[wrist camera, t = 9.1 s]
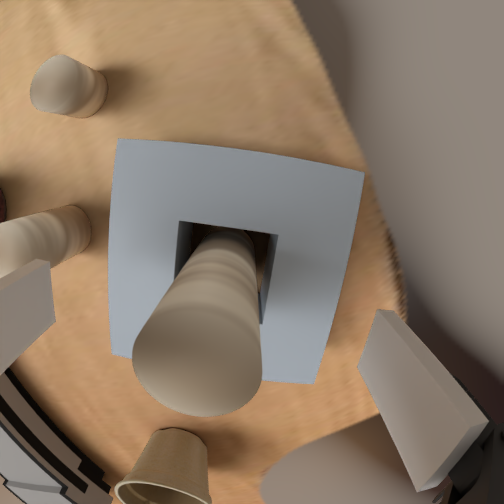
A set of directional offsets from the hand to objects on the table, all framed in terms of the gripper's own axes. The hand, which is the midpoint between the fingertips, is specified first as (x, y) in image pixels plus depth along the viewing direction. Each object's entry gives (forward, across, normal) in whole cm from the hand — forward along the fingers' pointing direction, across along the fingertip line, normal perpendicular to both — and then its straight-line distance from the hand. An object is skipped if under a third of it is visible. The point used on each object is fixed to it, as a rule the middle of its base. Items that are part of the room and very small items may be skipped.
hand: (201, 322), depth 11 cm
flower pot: (+11, -3, -22) cm, 25 cm away
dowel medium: (+12, -13, 0) cm, 17 cm away
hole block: (+11, 0, 0) cm, 12 cm away
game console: (+12, -29, -29) cm, 43 cm away
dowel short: (+12, -13, +10) cm, 20 cm away
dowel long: (+11, 0, -1) cm, 12 cm away
